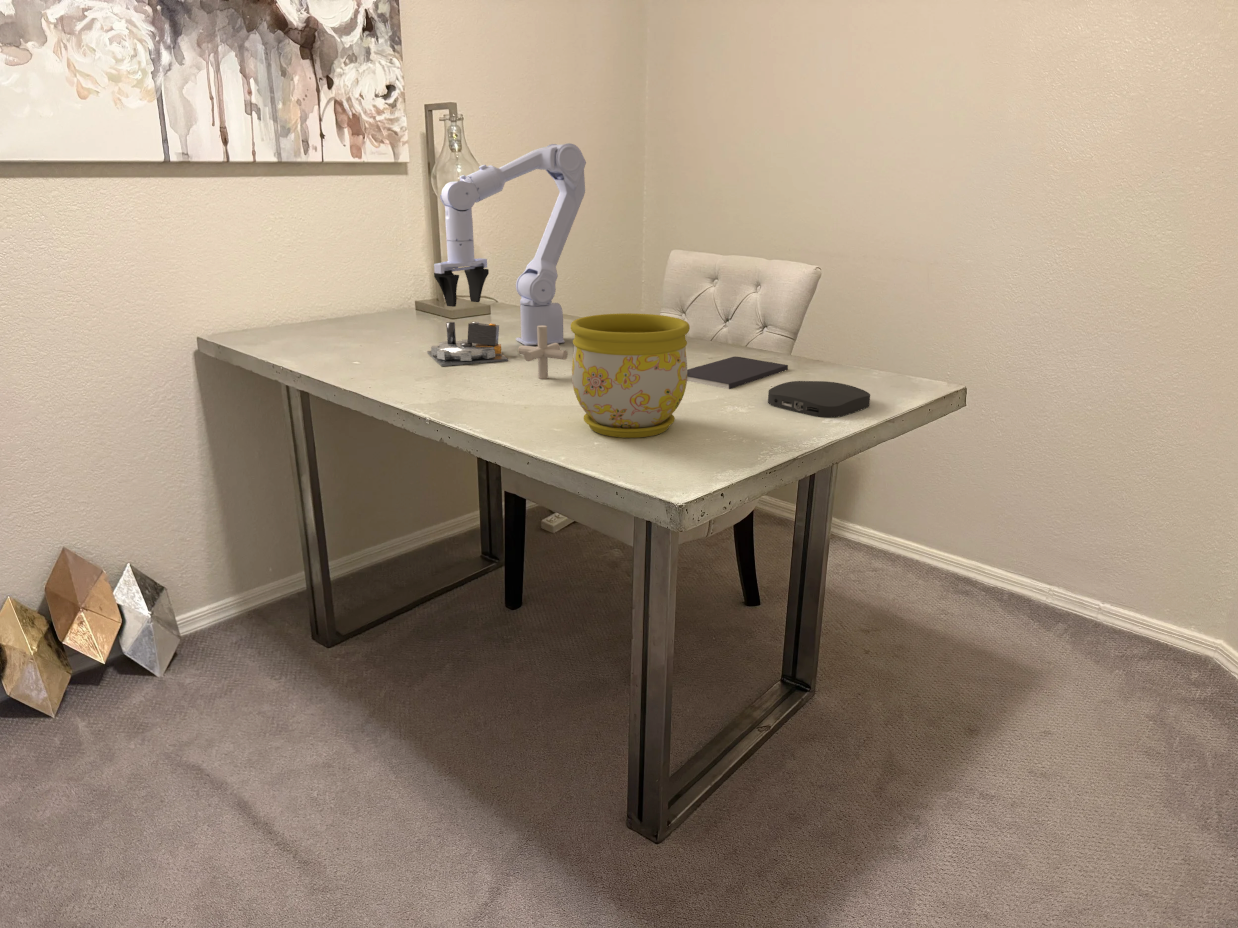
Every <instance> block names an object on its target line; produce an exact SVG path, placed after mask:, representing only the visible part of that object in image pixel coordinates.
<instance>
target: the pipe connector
mask: <svg viewBox="0 0 1238 928" xmlns="http://www.w3.org/2000/svg"><path fill="white" fill-rule="evenodd" d="M537 337H538V345H537V346H533V345H529V346H526V345H524V344H522V345H521V344H520V345H519V346H518V351H517V352H518V354H519V355H523V358H524V360H525V361H526V362H531V361H534V360H537V365H538V368H537V372H538V375H537V376H538V379H540V380H546V379H548V378H549V370H548V369H549V366H548V365H549V364H548V363H549V362H548V360H549V359H556V360H565V361H566V359H568V351H567V350H565V349H561V346H560V343H553V344H547V326H544V325H540V326H537Z"/></svg>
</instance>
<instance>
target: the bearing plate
mask: <svg viewBox="0 0 1238 928" xmlns="http://www.w3.org/2000/svg"><path fill="white" fill-rule="evenodd" d="M426 352H427V355H428V356H430V357H431V358H432V359H433V360H434V361H435V362H436V363H437V364H438V363H439V364H438V365H439V366H440V365H441V366H443V367H453V366H452V365H455V366H464V365H463V364H467V365H475V364H474V363H479V364H488V363H487V362H491V363H498V362H499V363H500V362H501V363H502V362H508V361H509V358H507V357H506V356H505V355H504V354H503V353H501V354H495V357H493V358H489V359H486V358H479V359H472V361H461V359H446V360H443V359H437V355H432V354H431V350H427V351H426ZM441 366H440V367H441Z"/></svg>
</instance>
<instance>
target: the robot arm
mask: <svg viewBox="0 0 1238 928" xmlns="http://www.w3.org/2000/svg"><path fill="white" fill-rule="evenodd" d="M586 164H587V162H586V159H585V157H584V155H583V153H582V151H581V148H579V147H578V146H577V145H576V144H574V143H570V142H569V143H566V142H565V143H563V144H560V143H559V144H556V143H551V144H549V145H547V146H543V147H539V148H536V149H533V150H531V151H529V152H527V153H525V154H523V155H521V156H519V157H517V158H515V159H514V160H511V161H510V162H508V163H506V164H504V165H502V166H499V167H496V166H494V165H486V164H482V165H480V166H478V170H476V171H474V172H472V173H470V174H467V175H465V174H462V175H460V176H459V178H458V179H459V180H458V181H449V182H447V183H446V184H445V185H444V187H442V189H441V194H439V198H440V202H441V203H442V205H443V206H444V210H445V211H444V215H445V216H444V217H445V218H444V221H445V235H446V238H445V239H446V252H447V253H446V254H447V255H446V256H447V261H442V262H437V263H434V264H433V268H434V269H433V270H434V273H433V278H434V279H435V280H436V281H437V283H438V286H439V287H440V289H441V292H442V294H443V297H444V300H445V303H446V306H447V307H453V308H454V307H457V298H458V297H457V290H458V282H459V278H460V275H459V274H454V273H453V272H459V271H463V272H464V273H465V276H466V280H467V284H468V290H469V299H470V302H472V303H480V302H481V297H482V291H483V287H484V284H485V281H486V279H487V278H488V275H489V272H490V270H489V269H488V258H483V257H478V258H475V243H474V224H473V223H474V222H473V210H472V209H473V207H474V205H475V203H479V202H481V201H483V200H486V199H487V198H490V197H491V196H494V195H496V194H499V193H500V192H502V191H503V190H504V187H505V184H506V183H507V182H509V181H511V180H514V179H516V178H519V177H521V176H523V175H526V174H528V173H530V172H533V171H536V170H541V171H542V170H543V171H544V170H545V171H546V173H547V174H548V175H549V176H550V177H551V178H552V179H553V181H554V182H555V185H556V187H557V190H558V192H559V193H558V196H557V198H556V201H555V204H554V205H553V208H552V210H551V214H550V216H549V219H548V221H547V224H546V226H545V229H544V232H543V233H542V234H543V235H542V237H541V239H540V242H539V245H538V246H537V250H536V252H535V254H534V257H533V258H532V259H531V260H530V261H529V263H527V265H526V266H525V269H524V271H523V272H522V273H521V274H520V275H519V276H518V277H517V279H516V282H515V290H516V293H517V294H518V295H519V297H520V300H519V304H520V306H519V307H520V308H519V309H520V310H519V311H520V336H521V337H515V341H517V342H519V343H521V344H522V345H524V346H538V337H537V326H540V325H544V326H547V345H550V344H553V343H558V344H564V343H565V340H564V313H563V308H562V306H561V304H560V303H559V302H552V300H553V299H554V297H555V294H556V289H557V288H556V282H557V279H558V277H559V276H558V271H557V266H558V262H559V260H560V258H561V255H562V253H563V250H564V247H565V245H566V242H567V239H568V238H569V235H570V233H571V230H572V227H573V225H574V222H575V219H576V217H577V215H578V212H579V209H580V206H581V204H582V202H583V199H584V196H585V193H586V180H585V179H586V177H585V168H586Z"/></svg>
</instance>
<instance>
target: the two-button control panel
mask: <svg viewBox="0 0 1238 928" xmlns="http://www.w3.org/2000/svg"><path fill="white" fill-rule="evenodd" d="M499 332H500V325H498V324H496V323H480V322H479V321H472V322H469V323H468V325H467V339H468V341H467V343H475V344H484V345H493V346H496V345H497V344H499V334H500V333H499Z"/></svg>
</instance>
